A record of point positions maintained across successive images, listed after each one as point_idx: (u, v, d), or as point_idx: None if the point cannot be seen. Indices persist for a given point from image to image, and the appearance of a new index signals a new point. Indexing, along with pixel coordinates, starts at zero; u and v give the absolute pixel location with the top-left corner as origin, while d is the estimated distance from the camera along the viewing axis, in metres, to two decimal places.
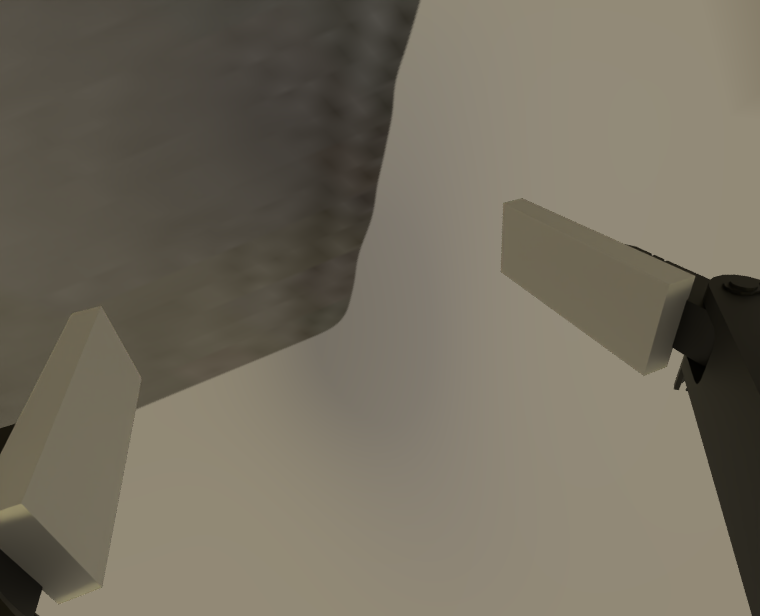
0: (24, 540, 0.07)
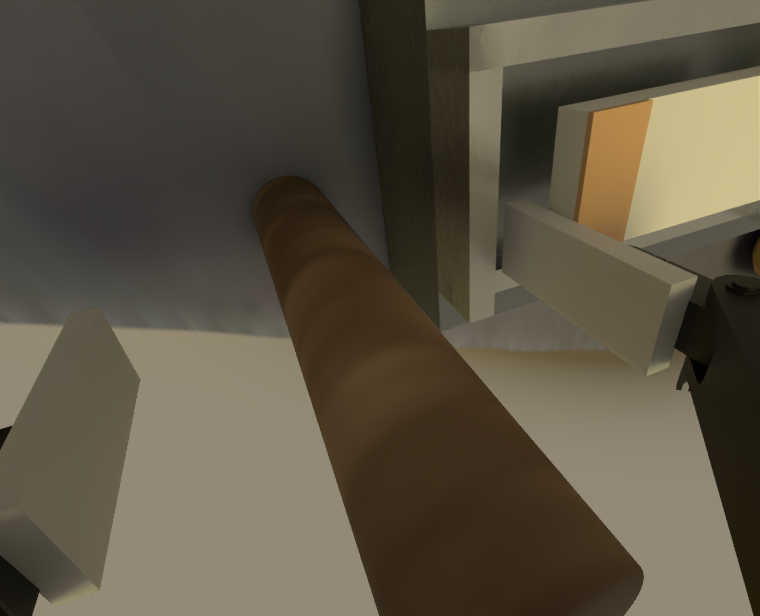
0: (21, 543, 0.07)
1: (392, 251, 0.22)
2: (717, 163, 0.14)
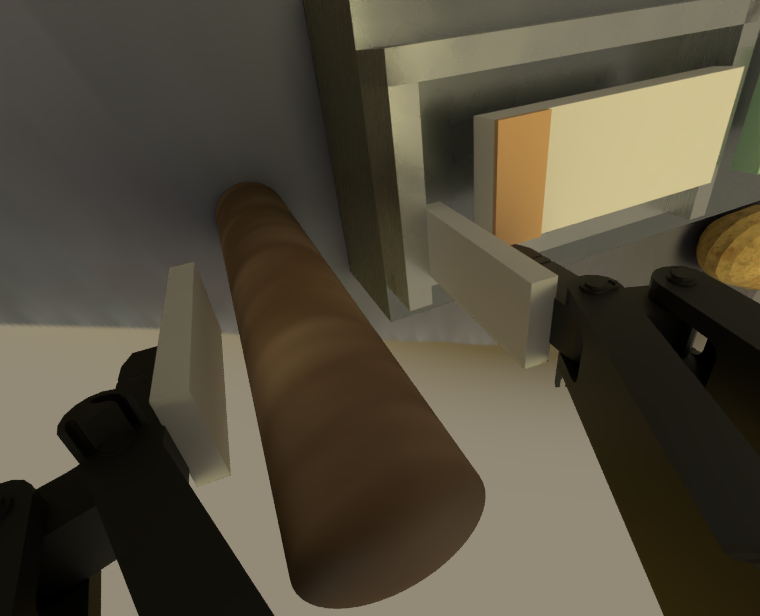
0: (184, 424, 0.09)
1: (350, 251, 0.24)
2: (621, 163, 0.16)
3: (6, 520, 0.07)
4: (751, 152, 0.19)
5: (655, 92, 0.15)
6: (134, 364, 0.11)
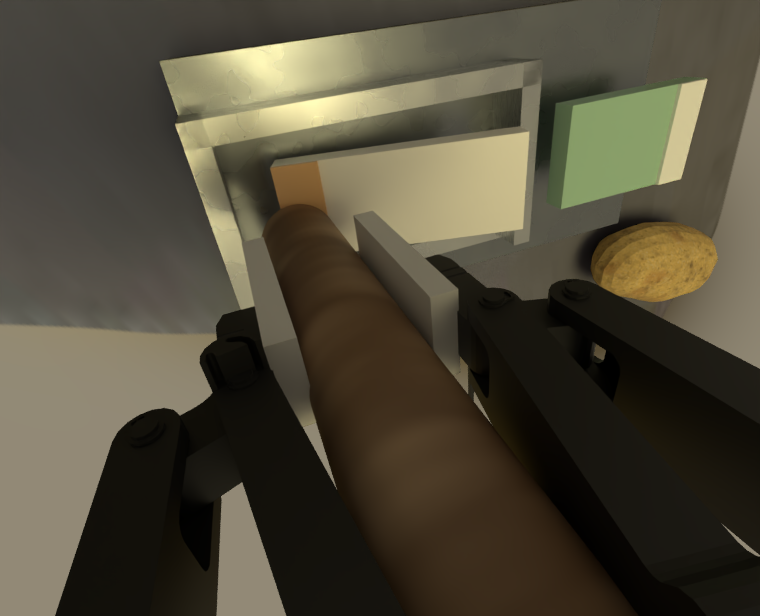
0: (289, 369, 0.10)
1: None
2: (407, 205, 0.20)
3: (159, 442, 0.08)
4: (556, 189, 0.23)
5: (426, 151, 0.18)
6: (227, 323, 0.12)
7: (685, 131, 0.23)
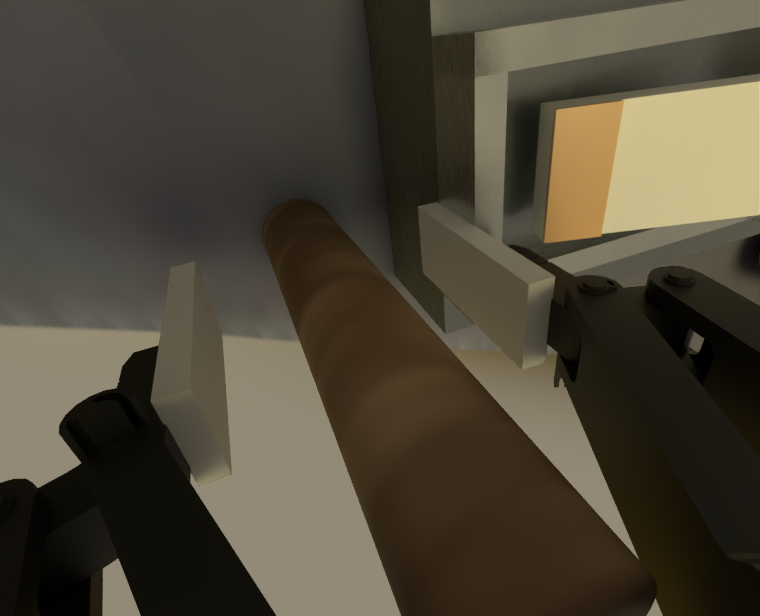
0: (186, 423, 0.09)
1: (397, 255, 0.22)
2: (718, 167, 0.14)
3: (8, 519, 0.07)
4: None
5: None
6: (135, 363, 0.11)
7: None
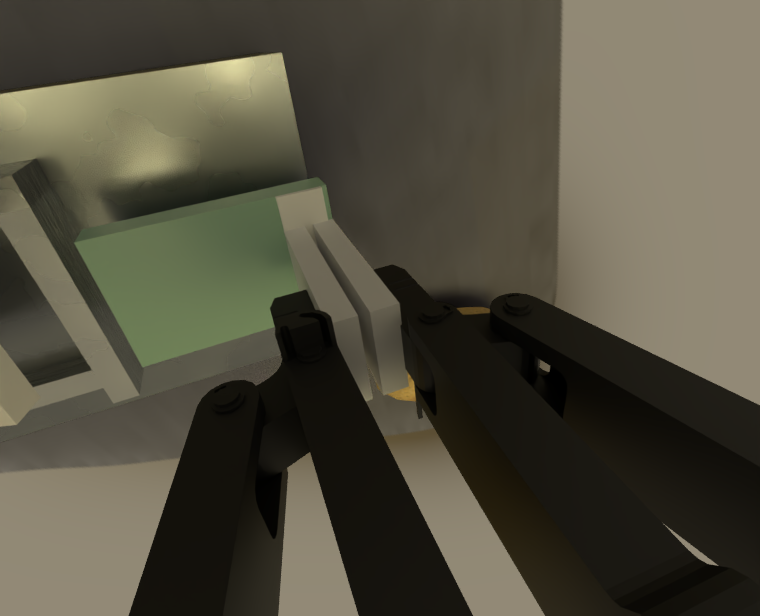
0: (348, 347, 0.10)
1: None
2: None
3: (240, 411, 0.08)
4: None
5: None
6: (280, 305, 0.12)
7: None
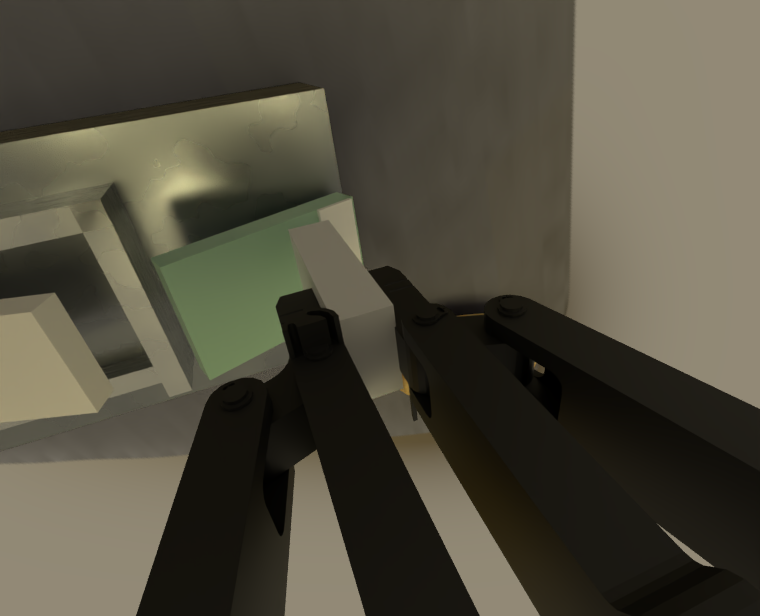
0: (354, 345, 0.10)
1: None
2: None
3: (248, 409, 0.08)
4: (197, 356, 0.17)
5: None
6: (286, 304, 0.12)
7: None
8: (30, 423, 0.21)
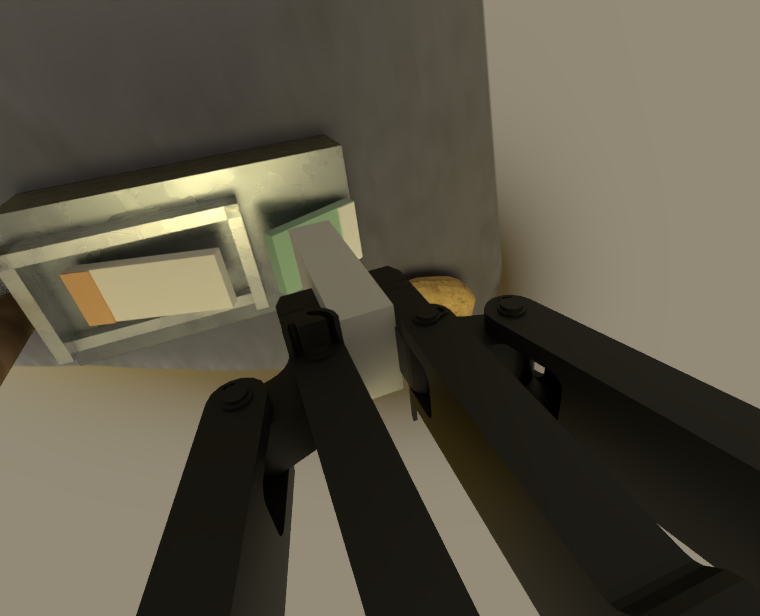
0: (354, 345, 0.10)
1: None
2: (153, 294, 0.31)
3: (247, 409, 0.08)
4: (281, 284, 0.33)
5: (154, 265, 0.30)
6: (286, 304, 0.12)
7: (352, 231, 0.36)
8: (176, 327, 0.37)
